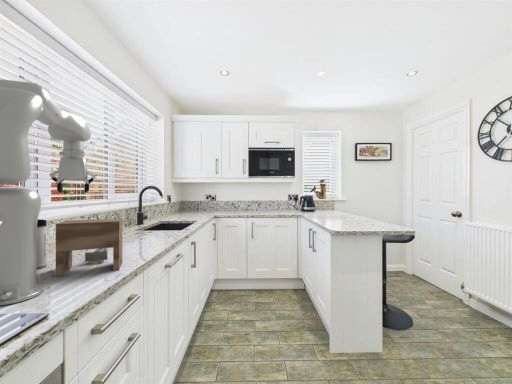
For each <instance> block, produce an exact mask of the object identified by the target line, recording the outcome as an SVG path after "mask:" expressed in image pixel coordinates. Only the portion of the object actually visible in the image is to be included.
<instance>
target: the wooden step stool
mask: <svg viewBox="0 0 512 384" xmlns="http://www.w3.org/2000/svg"><path fill="white" fill-rule="evenodd" d="M123 225H124V223H123V218H104V219H103V218H102V219H101V218H100V219H99V218H96V219H75V220H73V219H70V220H64V221H60V222H58V223H55V277H56V278H57V277H59V278H60V277H63V276H64V275H66V273H67V272H69V271H70V270H71V269H72V268H73V251H86V250H87V251H88V250H97V249H101V248H108V249H110V248H111V249H112V248H113V249H112V250H113V251H112V254H113V257H112V258H113V259H112V260H113V261H112V264H113V266H112V267H113V268H112V269H113V271H114V272H115V271H120V269H121V267H122V265H123V238H124V236H123Z"/></svg>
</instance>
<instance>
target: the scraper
mask: <svg viewBox="0 0 512 384" xmlns="http://www.w3.org/2000/svg"><path fill="white" fill-rule="evenodd" d="M108 253H109V248H101V249H95V251H90V252H85V253H84V254H85V255H84V262H85V263H86V262H87V263H88V261H99V260H104V261H107V260H108Z"/></svg>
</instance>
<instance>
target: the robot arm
mask: <svg viewBox="0 0 512 384" xmlns="http://www.w3.org/2000/svg"><path fill="white" fill-rule="evenodd" d="M36 120H37V121H38V122H40V123H41V124H42V125H46V126H48V128H47V130H48V134H49V135H50V137H51V138H53V139H54V140H57V141H62V142H63V150H62V151H59V152H58V153H59V155H60V156H61V157H60V160H59V162H58V163H59V165H58V169H57V170H55V171H53V172H50V173H49V176H50V178H51V179H52V181H54V182H55V184H56V190H57V192H58V193H61V194H62V193H63V190H64V189H63V188H64V187H63V182H64V181H65V180H68V181H69V180H70V181H82V182H84V189H83V190H84V193H86V194H87V193H89V191H90V184H91V183H92V182H94V180H95V179H96V177H97V175H96V174H95V173H93V172H91V171H89V170H88V165H87V161H86V158H85V154H84V153H85V150H84V149H85V142H88V141H89V140H90V139H91V135H92V132H91V129H90V126H89V125H88V123H87V122H86V120H84V118H83V117H81V116H79V115H77V114H76V113H73V112H71V111H70V110H67V109H65V108H63V107H61V106H60V105H59V104H58V103H57V102H56V101H55V100H54V98H53V97H52V96H51V94H50V93H49V92H48V91H47V90H46V89H45V88H44V87H43V86H42V85H39V84H38V83H33V82H30V81H29V82H28V81H19V80H12V79H10V80H9V79H1V78H0V184H7V185H8V184H19V183H20V184H21V183H25V182H27V181H28V180H29V179H30V176H31V161H30V151H29V150H30V149H29V143H28V142H29V139H28V134H29V130H30V129H31V126H32V125H33V124H34V123H35V121H36ZM56 175H58V178H57V177H56ZM88 175H89V176H91V177H90V179H88ZM41 207H42V198H41V196H40V194H39V193H38V192H37V191H35V190H33V189H30V188H24V187H0V222H1V224H0V306H4V305H5V306H6V305H11V304H16V303H20V302H23V301H27V300H30V299H32V298H36V297H38V296H39V295H40V294H42V293H43V292H44V287H43V285H41V284H40V285H39V284H37V270H38V269H37V222H38V219H39V214H40V212H41ZM36 269H37V270H36Z"/></svg>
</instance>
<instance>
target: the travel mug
mask: <svg viewBox="0 0 512 384" xmlns="http://www.w3.org/2000/svg"><path fill="white" fill-rule="evenodd" d="M47 227H48V225H47V219H46V220H45V219H39V218H38V222H37V269H36V271H37V270H41V269H44V268H46V267H47V258H48V257H47V255H48V254H47V253H48V252H47V251H48V249H47V247H48V246H47V245H48V243H47V241H48V240H47V238H48V237H47V235H48V232H47V231H48V230H47V229H48V228H47Z"/></svg>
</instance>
